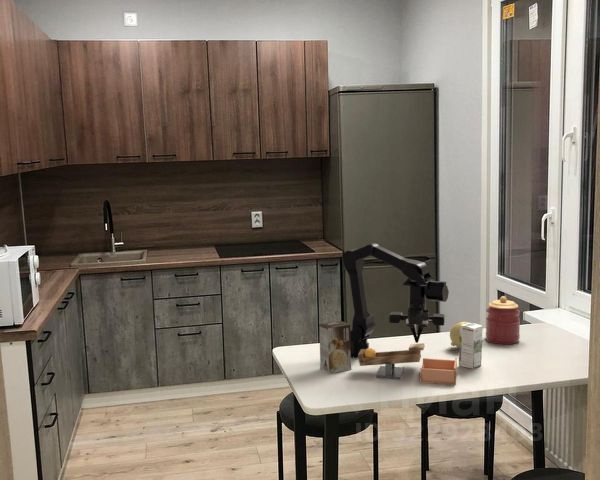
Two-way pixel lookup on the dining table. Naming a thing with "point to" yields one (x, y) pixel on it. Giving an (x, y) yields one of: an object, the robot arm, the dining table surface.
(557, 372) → the dining table surface
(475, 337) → the syrup box
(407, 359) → the lever
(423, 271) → the robot arm
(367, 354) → the ball
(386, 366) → the lever stand
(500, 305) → the canister
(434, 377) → the orange open box
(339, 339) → the coffee box
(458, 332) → the yellow rounded lump
